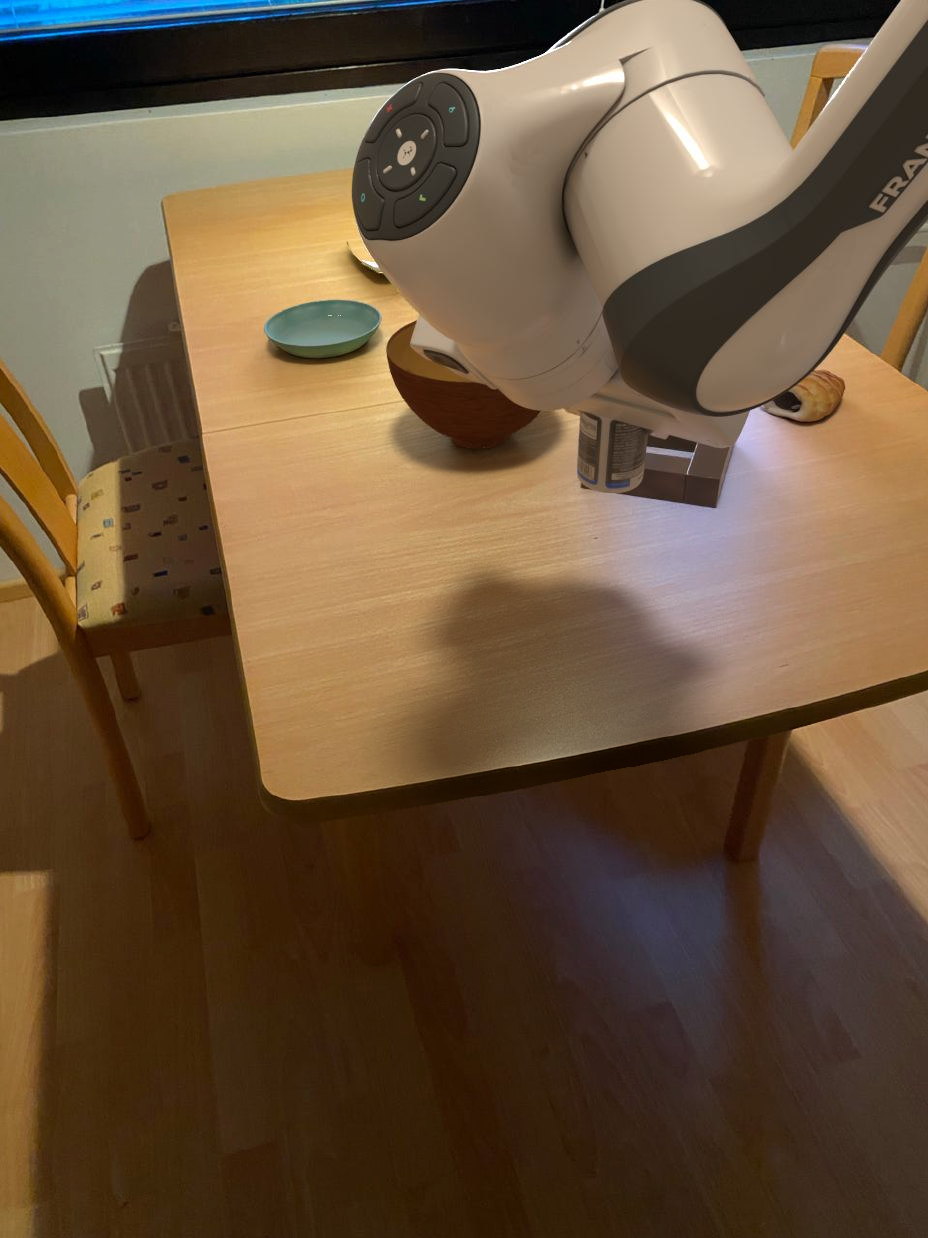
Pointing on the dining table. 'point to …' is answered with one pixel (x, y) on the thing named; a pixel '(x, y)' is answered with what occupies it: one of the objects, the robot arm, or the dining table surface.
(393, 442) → the dining table surface
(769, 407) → the pastry
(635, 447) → the pill bottle
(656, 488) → the dock
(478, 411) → the bowl
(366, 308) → the saucer
